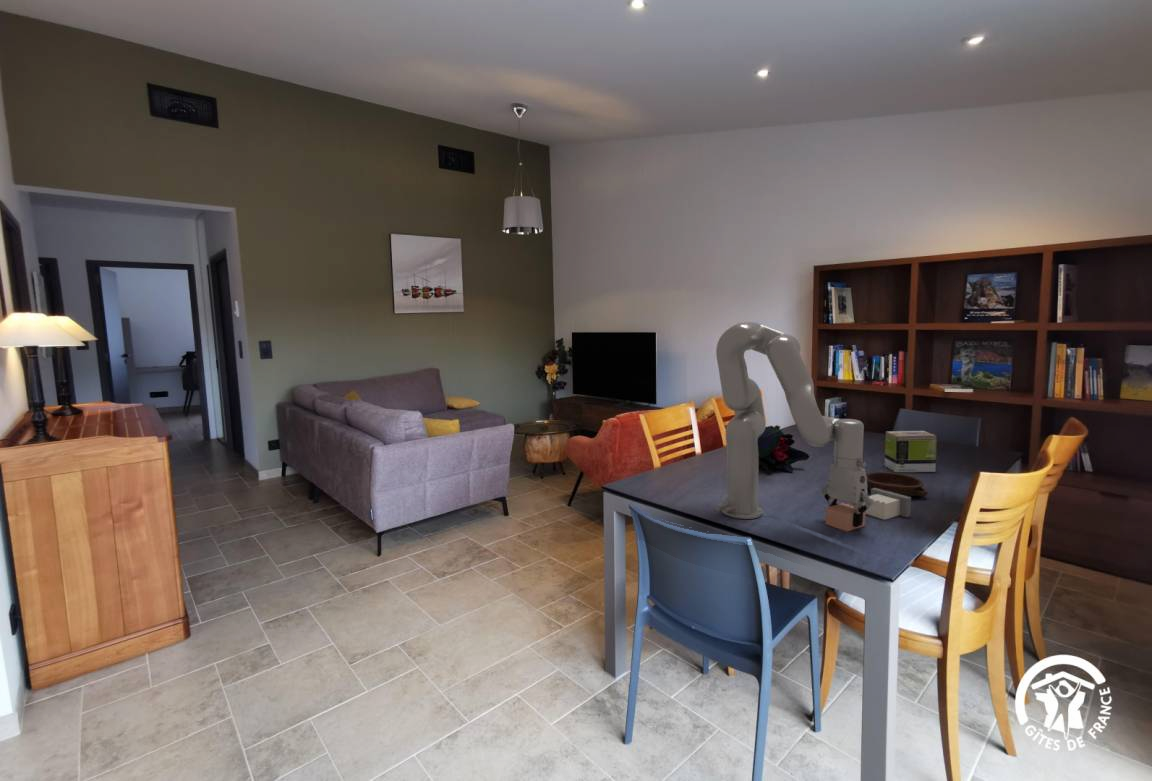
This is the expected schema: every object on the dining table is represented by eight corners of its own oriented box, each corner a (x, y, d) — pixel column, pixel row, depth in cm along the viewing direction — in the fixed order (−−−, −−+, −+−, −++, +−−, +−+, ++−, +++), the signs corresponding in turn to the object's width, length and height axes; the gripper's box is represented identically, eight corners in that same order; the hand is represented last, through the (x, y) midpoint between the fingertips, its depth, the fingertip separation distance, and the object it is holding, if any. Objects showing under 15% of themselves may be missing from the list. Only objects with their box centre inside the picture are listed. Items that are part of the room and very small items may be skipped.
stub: (847, 531, 161) (847, 514, 160) (825, 524, 167) (826, 507, 166) (864, 525, 165) (865, 508, 164) (843, 518, 171) (843, 502, 170)
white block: (892, 522, 167) (893, 502, 166) (855, 511, 177) (856, 492, 177) (916, 514, 173) (917, 495, 172) (879, 504, 183) (880, 486, 182)
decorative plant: (768, 483, 241) (828, 482, 215) (721, 467, 231) (778, 463, 205) (774, 437, 247) (833, 430, 221) (729, 418, 237) (785, 409, 211)
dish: (914, 506, 184) (915, 491, 184) (847, 490, 202) (848, 476, 201) (937, 494, 195) (938, 480, 194) (871, 480, 212) (872, 467, 211)
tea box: (922, 466, 229) (924, 430, 227) (935, 473, 219) (938, 435, 217) (883, 466, 231) (885, 430, 229) (894, 473, 221) (896, 435, 219)
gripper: (884, 467, 158) (881, 528, 160) (829, 454, 173) (827, 510, 175) (867, 471, 154) (864, 534, 156) (813, 457, 169) (811, 515, 172)
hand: (845, 521), depth 166 cm, fingers closed on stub, 7 cm apart
